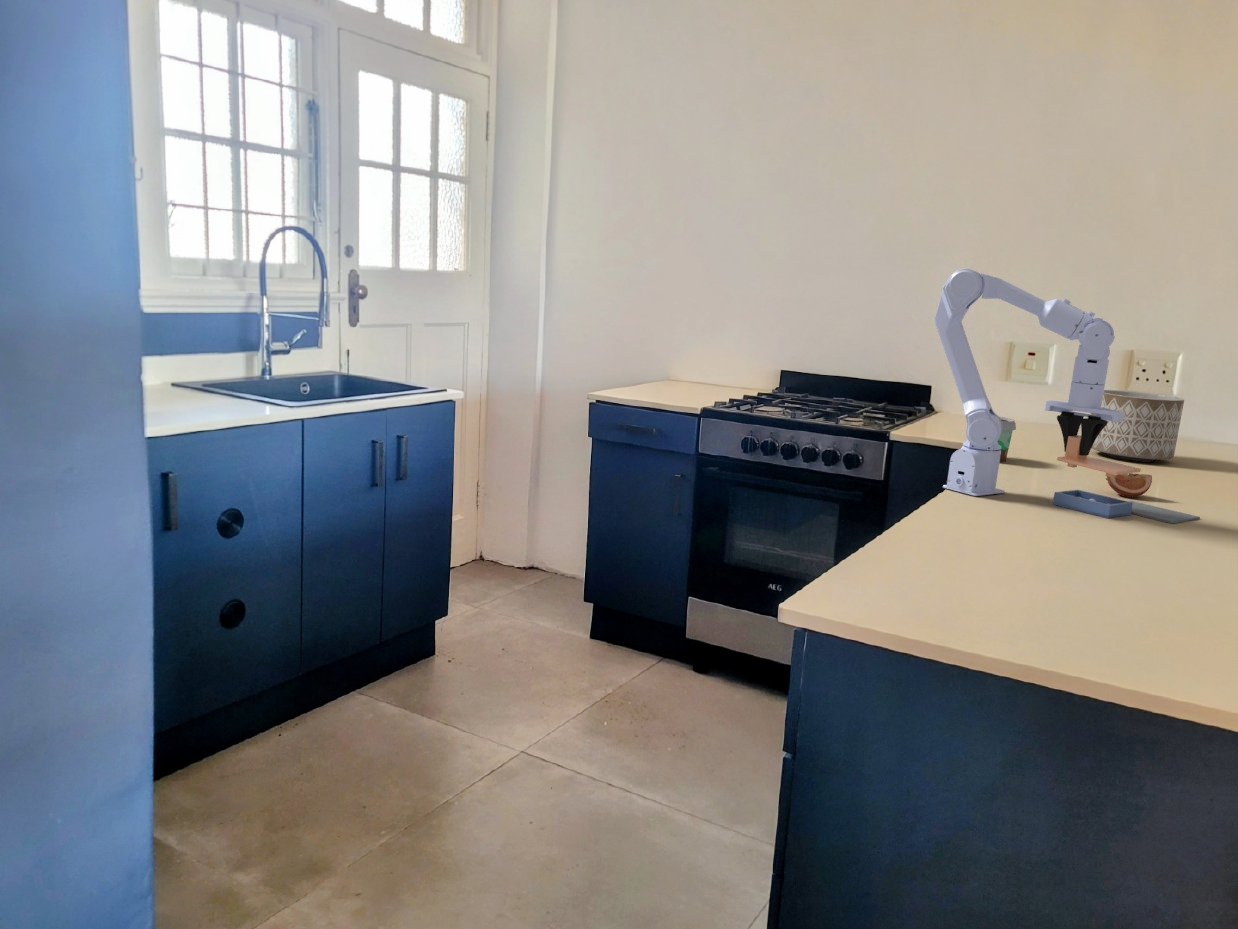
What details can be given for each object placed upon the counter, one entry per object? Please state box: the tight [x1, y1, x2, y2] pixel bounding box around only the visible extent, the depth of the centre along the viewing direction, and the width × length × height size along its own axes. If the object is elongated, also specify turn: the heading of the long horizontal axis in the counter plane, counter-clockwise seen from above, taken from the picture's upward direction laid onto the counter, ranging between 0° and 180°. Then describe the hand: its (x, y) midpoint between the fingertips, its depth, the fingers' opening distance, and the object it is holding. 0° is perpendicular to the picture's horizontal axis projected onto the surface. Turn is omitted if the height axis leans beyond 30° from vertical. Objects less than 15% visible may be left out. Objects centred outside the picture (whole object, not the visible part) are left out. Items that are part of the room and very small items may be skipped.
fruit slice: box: [1105, 473, 1153, 498], centre depth 193 cm, size 8×7×5 cm
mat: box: [1129, 500, 1201, 525], centre depth 179 cm, size 10×13×1 cm
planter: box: [1091, 389, 1185, 463], centre depth 242 cm, size 19×19×16 cm
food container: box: [997, 415, 1017, 463], centre depth 227 cm, size 12×6×10 cm, turn 168°
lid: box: [1056, 434, 1142, 477], centre depth 176 cm, size 8×12×6 cm
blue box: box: [1052, 489, 1133, 519], centre depth 178 cm, size 8×11×2 cm
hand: (1076, 453), depth 180 cm, fingers closed on lid, 2 cm apart
